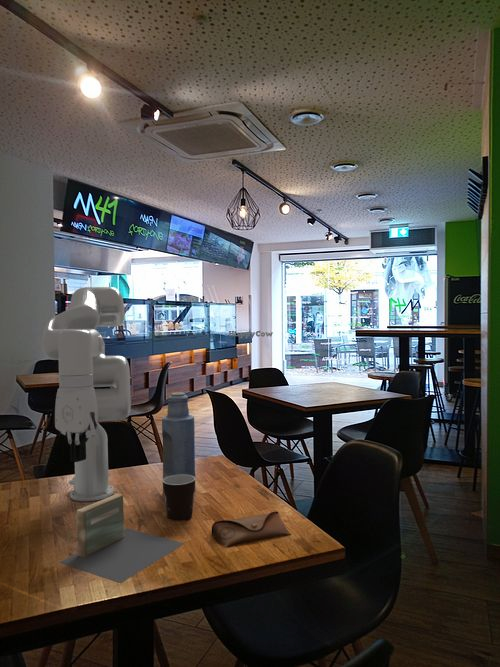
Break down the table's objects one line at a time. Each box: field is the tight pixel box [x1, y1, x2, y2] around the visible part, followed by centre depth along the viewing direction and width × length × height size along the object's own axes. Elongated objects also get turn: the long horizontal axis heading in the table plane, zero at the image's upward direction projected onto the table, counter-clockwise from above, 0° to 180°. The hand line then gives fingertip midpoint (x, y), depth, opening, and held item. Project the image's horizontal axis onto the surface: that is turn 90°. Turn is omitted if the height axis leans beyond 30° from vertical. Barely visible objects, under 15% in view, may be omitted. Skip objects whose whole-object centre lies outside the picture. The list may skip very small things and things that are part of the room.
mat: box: [59, 527, 185, 584], centre depth 112 cm, size 18×20×1 cm
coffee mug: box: [161, 474, 196, 522], centre depth 134 cm, size 12×9×10 cm
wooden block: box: [76, 493, 125, 557], centre depth 115 cm, size 2×12×10 cm, turn 149°
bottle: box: [161, 391, 196, 494], centre depth 152 cm, size 10×10×30 cm
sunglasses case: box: [211, 510, 292, 549], centre depth 121 cm, size 18×7×7 cm, turn 113°
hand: (78, 460), depth 118 cm, fingers closed
